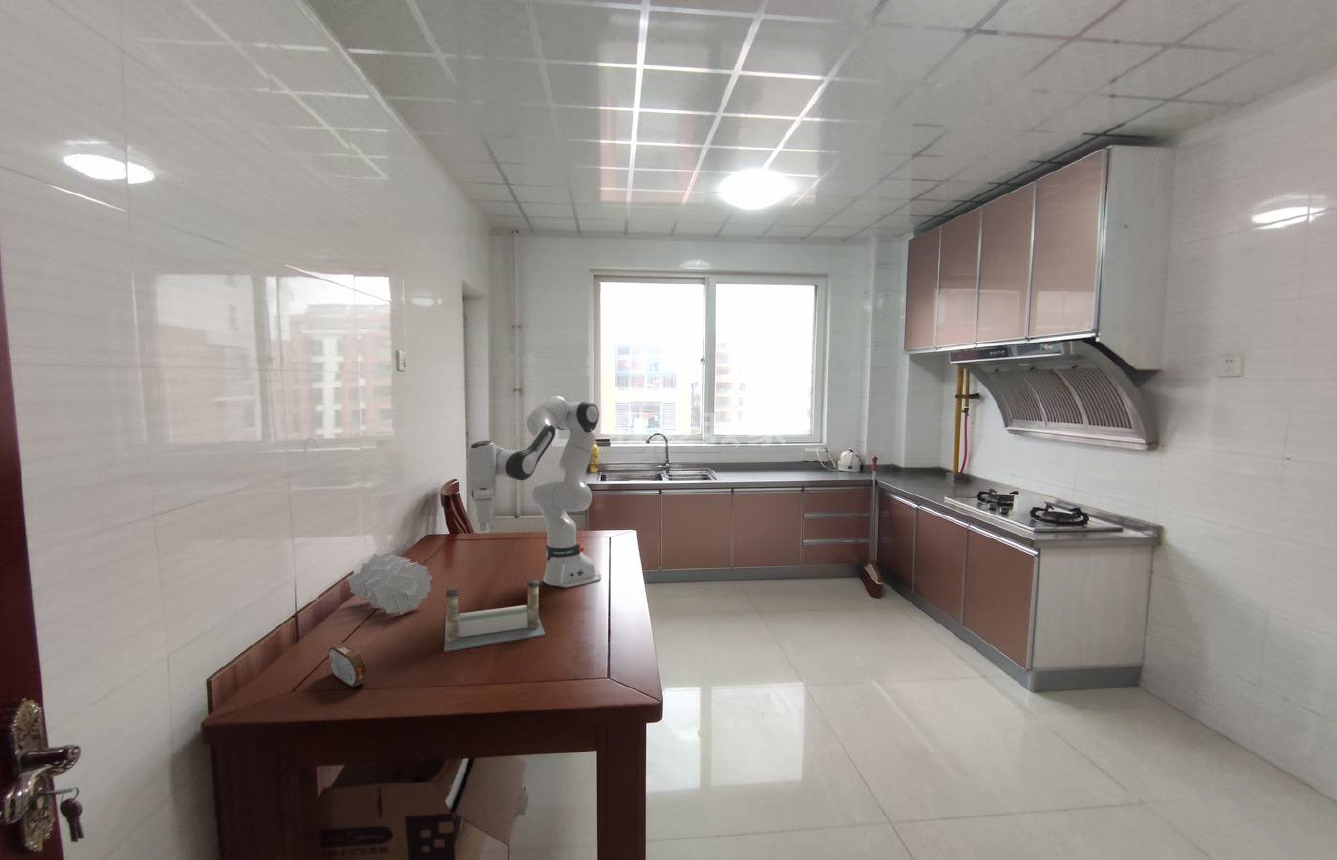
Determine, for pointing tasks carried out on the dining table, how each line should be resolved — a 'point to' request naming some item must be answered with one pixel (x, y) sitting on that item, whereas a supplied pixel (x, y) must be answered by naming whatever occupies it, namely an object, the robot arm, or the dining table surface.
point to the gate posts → (453, 610)
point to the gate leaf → (493, 620)
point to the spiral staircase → (391, 583)
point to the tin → (347, 665)
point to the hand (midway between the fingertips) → (483, 530)
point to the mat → (492, 636)
